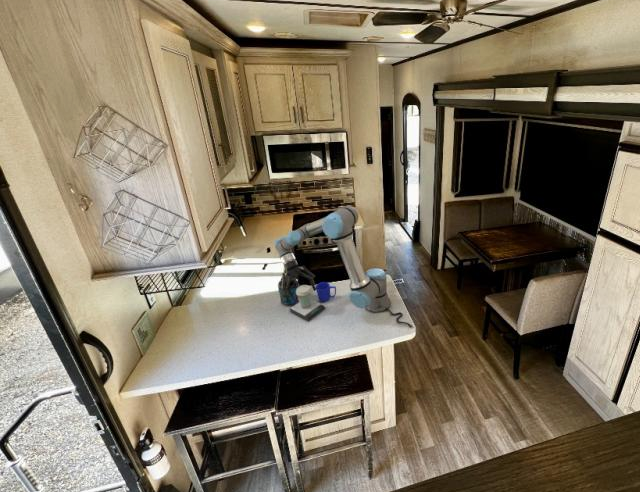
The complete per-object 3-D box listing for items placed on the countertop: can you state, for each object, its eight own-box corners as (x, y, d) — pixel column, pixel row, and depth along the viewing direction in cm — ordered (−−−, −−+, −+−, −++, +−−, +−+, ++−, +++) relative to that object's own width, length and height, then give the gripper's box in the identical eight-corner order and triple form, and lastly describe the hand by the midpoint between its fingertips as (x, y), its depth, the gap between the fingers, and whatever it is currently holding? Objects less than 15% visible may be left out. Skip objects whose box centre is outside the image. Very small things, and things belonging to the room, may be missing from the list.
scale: (324, 309, 194) (324, 304, 192) (307, 321, 184) (307, 317, 183) (307, 300, 201) (306, 296, 200) (290, 312, 192) (289, 307, 190)
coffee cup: (314, 308, 190) (311, 291, 185) (298, 311, 187) (295, 294, 182) (312, 299, 197) (310, 283, 192) (297, 303, 194) (294, 286, 190)
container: (277, 299, 202) (274, 276, 196) (296, 293, 209) (294, 270, 203) (284, 309, 194) (281, 285, 188) (304, 302, 201) (302, 278, 195)
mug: (335, 303, 198) (334, 289, 194) (316, 303, 199) (314, 289, 195) (338, 295, 206) (337, 281, 202) (319, 295, 206) (317, 281, 202)
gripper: (307, 257, 204) (322, 288, 199) (267, 272, 189) (282, 305, 184) (310, 253, 198) (325, 284, 193) (269, 267, 183) (284, 302, 178)
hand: (304, 294), depth 189 cm, fingers open, 13 cm apart
